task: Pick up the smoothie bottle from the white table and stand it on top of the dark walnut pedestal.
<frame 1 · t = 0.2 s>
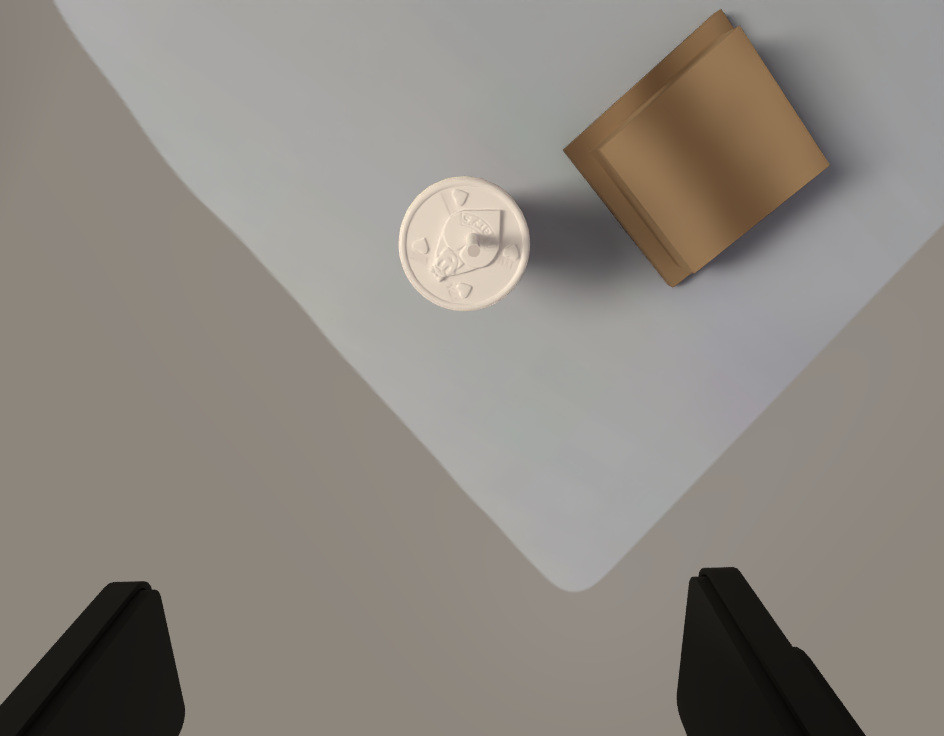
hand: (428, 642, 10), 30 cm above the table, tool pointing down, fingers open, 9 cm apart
pedestal: (689, 158, 36), on the table
smoothie: (464, 227, 37), on the table
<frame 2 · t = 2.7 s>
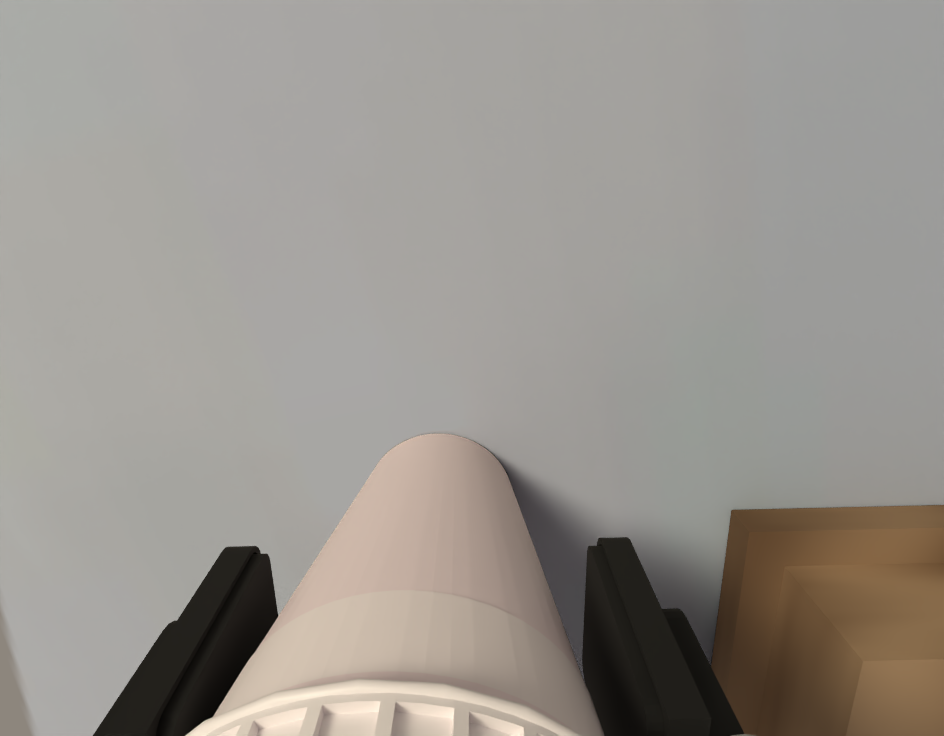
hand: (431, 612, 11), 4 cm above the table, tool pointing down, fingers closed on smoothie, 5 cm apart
pedestal: (901, 674, 17), on the table
smoothie: (440, 496, 15), on the table, touching gripper
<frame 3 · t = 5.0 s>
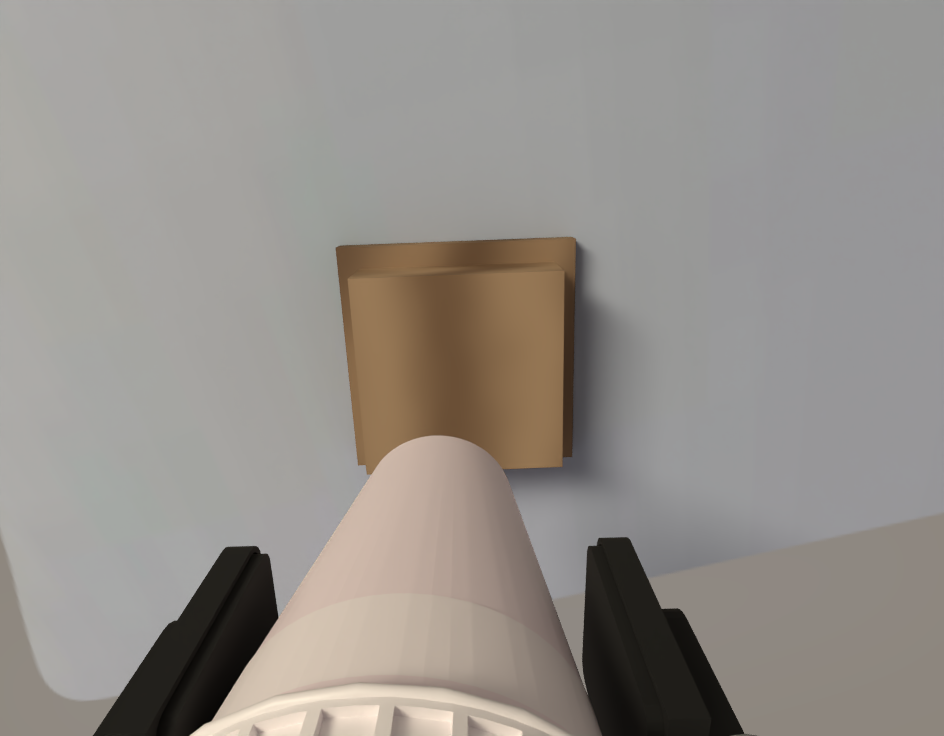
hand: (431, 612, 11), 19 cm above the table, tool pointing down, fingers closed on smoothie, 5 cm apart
pedestal: (460, 352, 30), on the table
smoothie: (439, 497, 15), point 15 cm above the table, touching gripper
when the fingers open (9 cm above the table, at t = 7.5 s): smoothie stays where it is, resting on pedestal.
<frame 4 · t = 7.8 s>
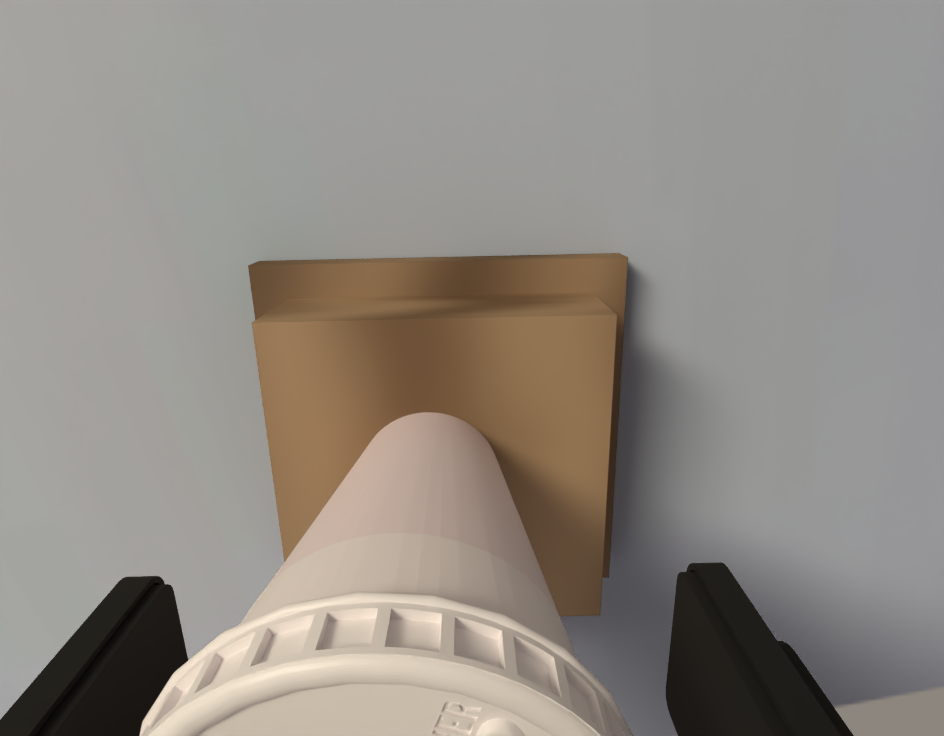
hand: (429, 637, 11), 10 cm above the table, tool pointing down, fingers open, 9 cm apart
pedestal: (445, 423, 20), on the table
smoothie: (430, 472, 16), point 4 cm above the table, touching pedestal
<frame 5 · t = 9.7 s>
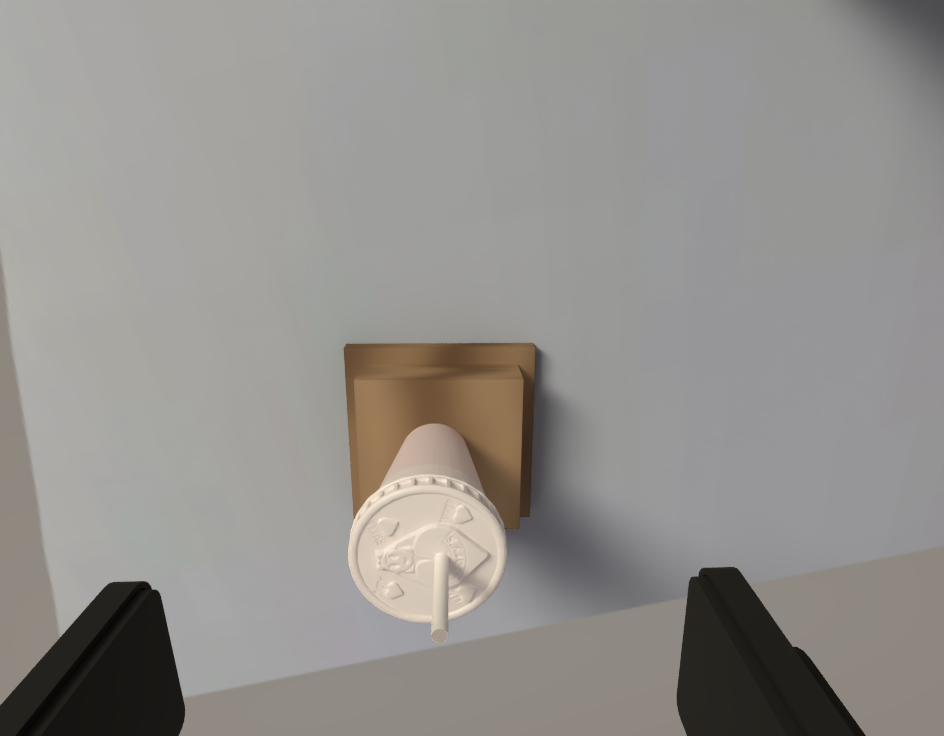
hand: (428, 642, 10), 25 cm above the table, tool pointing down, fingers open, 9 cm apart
pedestal: (441, 430, 36), on the table
smoothie: (434, 453, 33), point 4 cm above the table, touching pedestal
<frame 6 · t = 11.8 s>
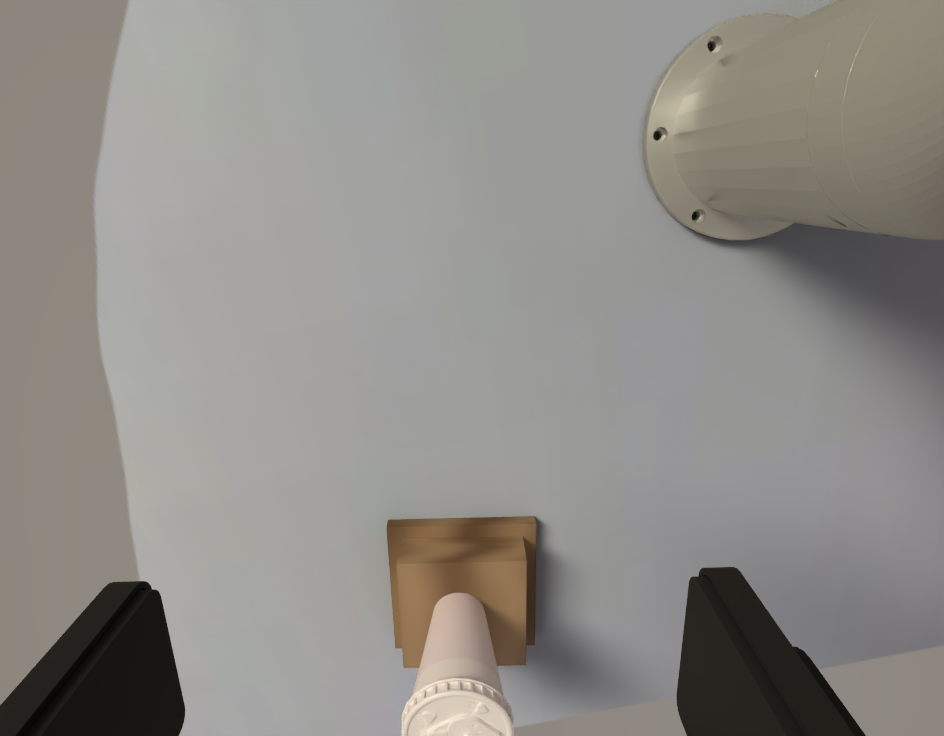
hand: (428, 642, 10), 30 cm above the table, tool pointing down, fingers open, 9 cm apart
pedestal: (463, 579, 46), on the table
smoothie: (458, 612, 42), point 4 cm above the table, touching pedestal
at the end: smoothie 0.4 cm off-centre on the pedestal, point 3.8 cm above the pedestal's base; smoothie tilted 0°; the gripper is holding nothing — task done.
